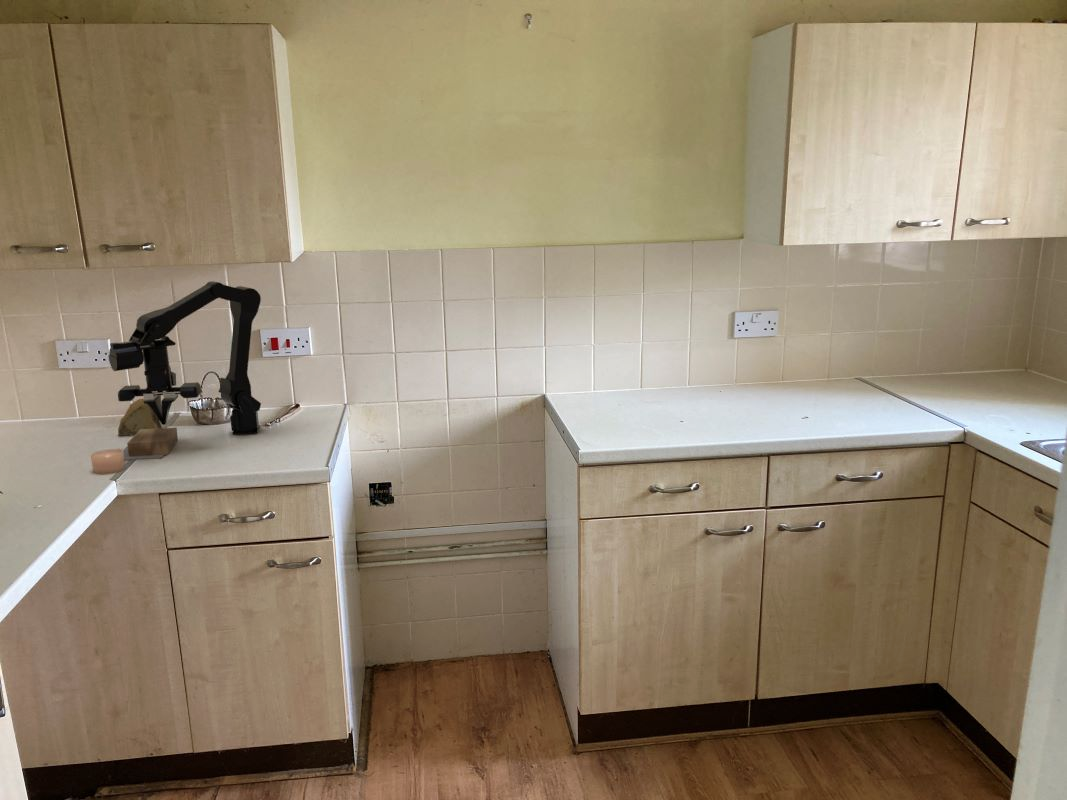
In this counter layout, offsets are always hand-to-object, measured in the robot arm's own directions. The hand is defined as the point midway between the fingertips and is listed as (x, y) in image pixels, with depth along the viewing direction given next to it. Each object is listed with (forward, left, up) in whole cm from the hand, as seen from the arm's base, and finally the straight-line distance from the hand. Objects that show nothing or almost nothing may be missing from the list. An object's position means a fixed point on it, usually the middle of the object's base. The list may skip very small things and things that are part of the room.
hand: (164, 424), depth 215 cm
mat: (+5, 0, -6) cm, 8 cm away
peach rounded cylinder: (+10, +14, -7) cm, 18 cm away
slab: (-1, 0, -4) cm, 5 cm away
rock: (+11, -17, -7) cm, 21 cm away
